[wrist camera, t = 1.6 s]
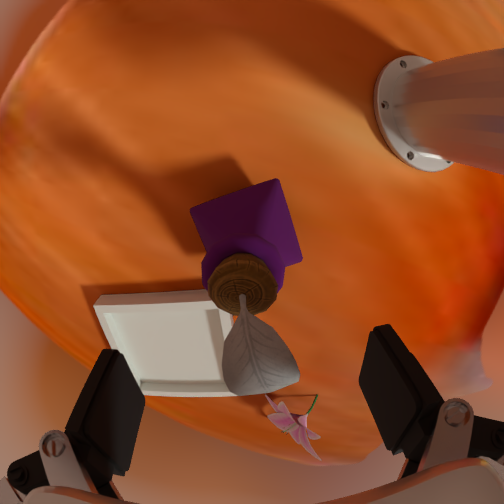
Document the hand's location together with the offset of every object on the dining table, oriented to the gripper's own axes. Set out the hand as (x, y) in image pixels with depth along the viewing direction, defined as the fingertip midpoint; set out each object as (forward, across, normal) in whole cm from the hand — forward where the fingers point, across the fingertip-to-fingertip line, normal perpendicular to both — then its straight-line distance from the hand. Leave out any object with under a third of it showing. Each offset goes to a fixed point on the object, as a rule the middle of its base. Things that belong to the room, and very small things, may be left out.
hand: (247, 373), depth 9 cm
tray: (+18, +9, +14) cm, 24 cm away
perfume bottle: (+18, -1, 0) cm, 18 cm away
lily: (+18, -4, +27) cm, 33 cm away
